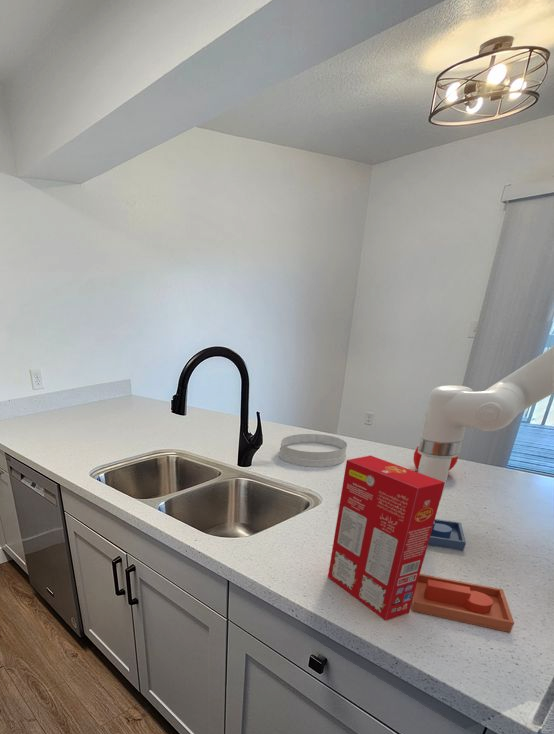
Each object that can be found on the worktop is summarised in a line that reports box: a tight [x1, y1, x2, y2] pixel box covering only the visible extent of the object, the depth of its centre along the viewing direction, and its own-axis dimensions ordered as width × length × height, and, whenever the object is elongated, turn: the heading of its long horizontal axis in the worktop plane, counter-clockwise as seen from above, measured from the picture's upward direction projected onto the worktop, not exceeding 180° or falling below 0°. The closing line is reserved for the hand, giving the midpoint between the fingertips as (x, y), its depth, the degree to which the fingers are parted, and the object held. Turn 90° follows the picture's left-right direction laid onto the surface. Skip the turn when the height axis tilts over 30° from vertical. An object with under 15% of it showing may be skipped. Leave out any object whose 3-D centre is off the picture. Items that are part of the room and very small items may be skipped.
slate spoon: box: [430, 520, 452, 538], centre depth 101 cm, size 4×10×3 cm, turn 63°
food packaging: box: [327, 454, 446, 621], centre depth 77 cm, size 15×5×25 cm, turn 20°
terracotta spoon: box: [424, 579, 493, 614], centre depth 78 cm, size 4×10×3 cm, turn 63°
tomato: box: [413, 445, 459, 471], centre depth 132 cm, size 12×12×10 cm
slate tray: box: [427, 518, 467, 551], centre depth 101 cm, size 14×10×2 cm
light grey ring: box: [279, 433, 348, 468], centre depth 153 cm, size 22×22×5 cm
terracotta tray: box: [411, 573, 515, 633], centre depth 78 cm, size 14×10×2 cm
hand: (422, 518), depth 100 cm, fingers open, 9 cm apart
